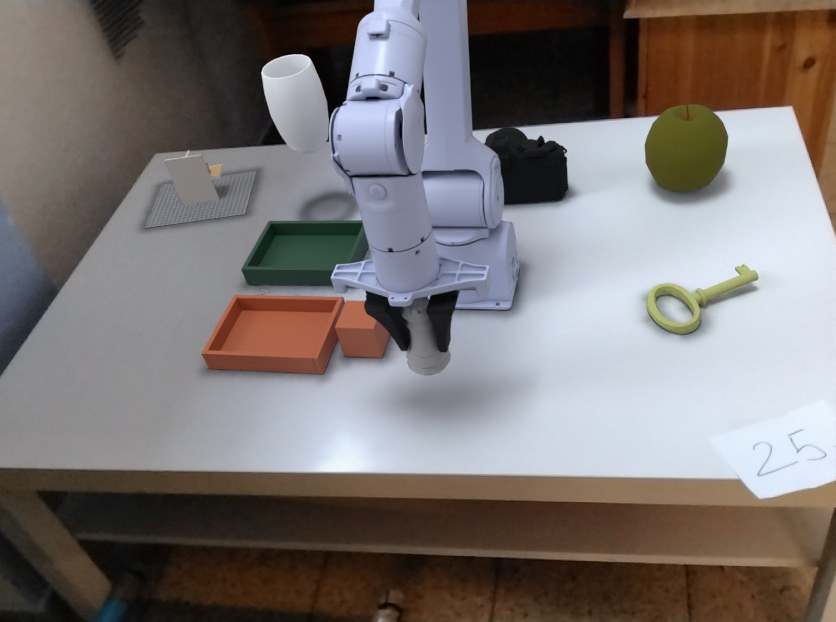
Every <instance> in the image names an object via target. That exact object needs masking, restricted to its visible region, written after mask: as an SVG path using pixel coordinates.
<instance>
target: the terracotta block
mask: <svg viewBox="0 0 836 622" xmlns="http://www.w3.org/2000/svg"><path fill="white" fill-rule="evenodd" d="M365 301H366V300H349V299H347V300H345V305H344V307H343V309H342V312H341V314H340V316H339V319H338V321H337V324H336V326H335V329H336V332H337V335H338V341H339V344H340V347H341V350H342V353H343V357H349V358H377V359H382V358H383V356H384V353H385V351H386V348H387V345H388V342H389V339H390V336H391V335H390V334H389V332H388V331H387V330H386V329H385V328H384V327H383V326H382V325H381V324H380V323H379V322H378V321H377V320H375V319H374V318H373V317H371V316H369V315H368V314H367V313H366V311H365V309H364V303H365Z"/></svg>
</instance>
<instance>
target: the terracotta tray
mask: <svg viewBox="0 0 836 622" xmlns="http://www.w3.org/2000/svg"><path fill="white" fill-rule="evenodd" d="M345 302H346V300H345V297H344V296H322V295H321V296H319V295H317V296H316V295H310V296H309V295H271V294H270V295H269V294H268V295H267V294H265V295H264V294H233V296H232V298H231V300H230V301H229V303H228V305H227V307H226V308H225V310H224V312H223V314H222V315H221V317H220V319H219V321H218V323H217V325H216V326H215V328H214V330H213V331H212V333H211V336H210V337H209V339H208V341H207V343H206V344H205V346H204V348H203V349H202V352H201V356H202V358H203V360H204V362H205V364H206V366H207V368H208V369H209V370H230V371H249V372H273V373H292V374H293V373H295V374H296V373H297V374H313V375H314V374H315V375H323V374H324V373H325V370H326V368H327V366H328V363H329V361H330V358H331V357H332V353H333V351H334V349H335V346H336V343H337V341H338V340H339V338H338V335H337V332H336V329H335V326H336V324H337V321H338V319H339V316H340V314H341V312H342V309H343V307H344V305H345Z"/></svg>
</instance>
